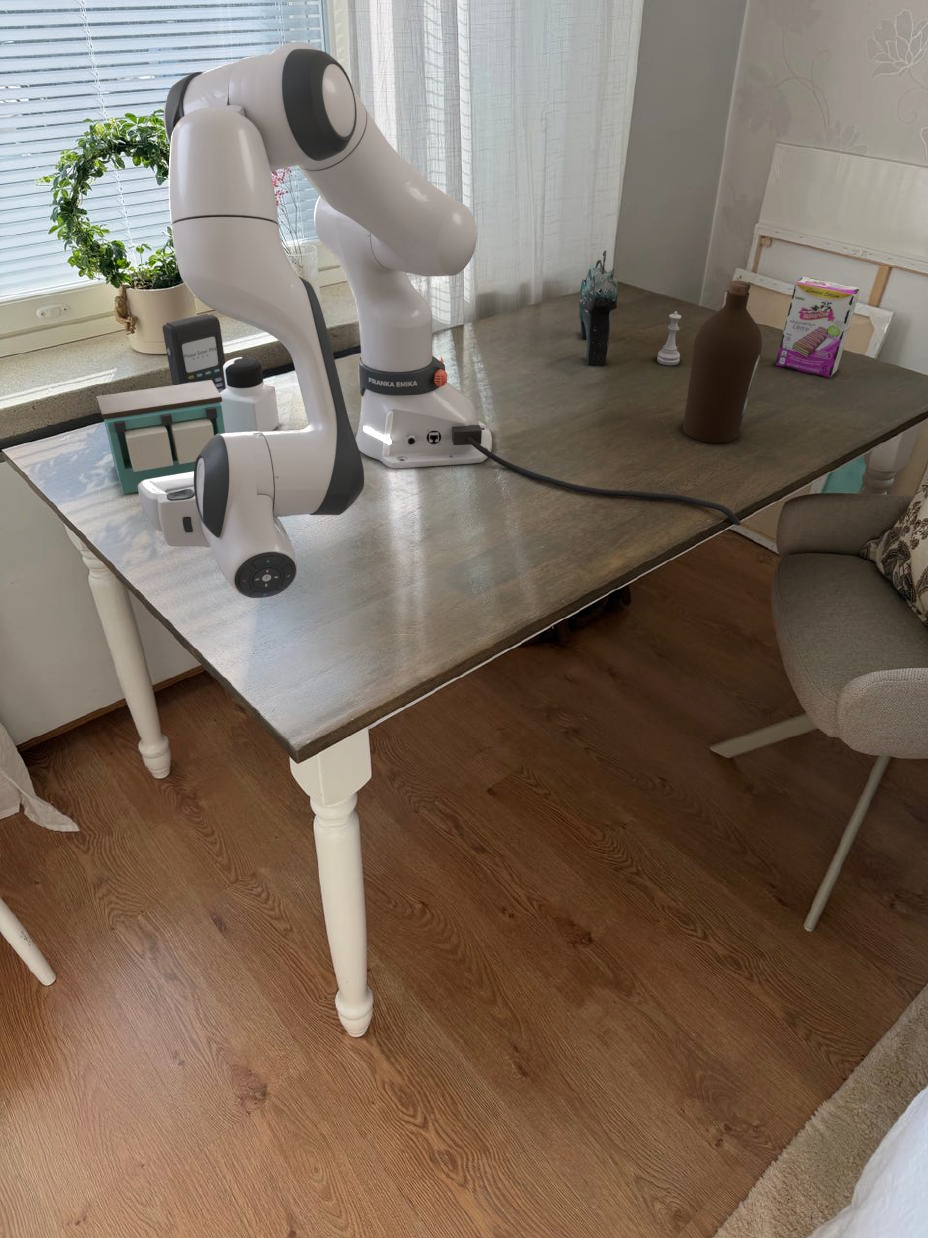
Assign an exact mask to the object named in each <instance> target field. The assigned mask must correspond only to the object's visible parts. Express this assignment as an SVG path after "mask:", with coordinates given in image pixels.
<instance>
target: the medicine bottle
mask: <svg viewBox="0 0 928 1238" xmlns="http://www.w3.org/2000/svg"><path fill="white" fill-rule="evenodd" d="M262 366H263V365H262V363H261V362H260V361H259V360H258V359H256V358H253V357H248V356H238V357H234V358H231V359H229V360H227V361H225V364H224V365H223V371H224V378H225V385H226V389H224V390H223V391H222V392H220V395H221V397H222V402H220V404H221V407H222V413H223V421H224V428H225V433H234V432H250V431H260V432H266V431H275V430H276V428H278V427H279V425H280V421H279V414H278V413H279V412H278V403H277V394H276V387H275V386H274V385H270V384H264V375H263V374H264V373H263V367H262Z"/></svg>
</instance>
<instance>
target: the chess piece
mask: <svg viewBox="0 0 928 1238" xmlns="http://www.w3.org/2000/svg"><path fill="white" fill-rule="evenodd" d="M668 318H669V320H670V323H669V325H668V326H667V327H666V330H667V331H668V332H669V333H668V336H667V340H666V343H665V344H664V345H663V346H662V348H661V349H660V350H659V351H658V353H657V359H656V361H657V362H658V364H661V365H664V366H677V365H678V364H679V363H680V357H681V354H680V352H679V351H678V346H676V334H677V332H679V331H680V326H679V324H678V323H679V321H680V320H682V315H681V314H678V311H677V310H675V311H674V312H673V313H670V314H669V315H668Z"/></svg>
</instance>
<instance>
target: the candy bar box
mask: <svg viewBox="0 0 928 1238" xmlns="http://www.w3.org/2000/svg"><path fill="white" fill-rule="evenodd" d="M792 291H793V292H792V295H791V300H790V304H789V308H788V312H787V316H786V321H785V323H784V328H783V332H782V337H781V340H780V345H779V348H778V353H777V357H776V361H775V366H777V367H782V368H786V369H791V370H796V371H799V372H804V373H808V374H811V375H817V376H821V377H824V378H832V377H833V376H834V374H835V373H836V372H837V371H838V369H839V365H840V362H841V358H842V355H843V351H844V348H845V344H846V341H847V338H848V337H847V336H848V333H849V331H850V327H851V323H852V320H853V316H854V312H855V309H856V305H857V304H858V303H857V302H858V299H859V295H860V292H861V288H860V287H859V286H853V285H848V284H843V283H837V282H832V281H826V280H822V279H817V278H811V277H806V276H802V277H801V278H800V279H798V280H797V281H796V282H795V283H794V287H793V290H792Z"/></svg>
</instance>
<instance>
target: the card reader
mask: <svg viewBox="0 0 928 1238" xmlns="http://www.w3.org/2000/svg"><path fill="white" fill-rule="evenodd" d="M162 333H163V339H164V345H165V350H166V356H167V361H168V366H169V373H170V377H171V383H172V385H179V384H187V383H194V382H201V381H208V380H212V381H213V383H214V385H215V387H216V388H217V390H218V392H219V393H220V392H222V391H223V390H224V389H226V385H225V378H224V371H223V365H224V364H225V363H226V360H225V351H224V345H223V344H224V343H223V336H222V329H221V322H220V320H219V317H217V316H216V315H214V314H208V313H204V314H199V315H196V316H195V315H194V316H190V317H187V318H182V319H178V320H177V319H176V320H173V321H169V322H166V323H165V324H163V325H162Z"/></svg>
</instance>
